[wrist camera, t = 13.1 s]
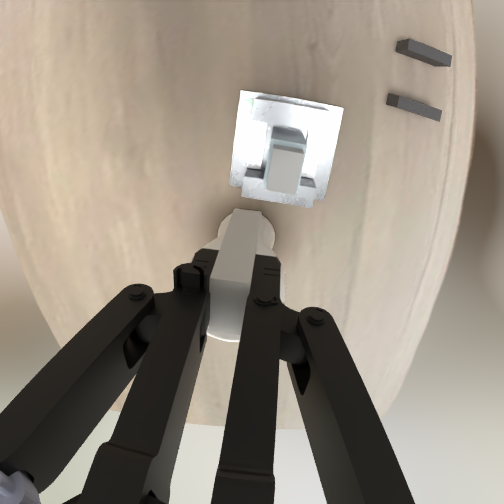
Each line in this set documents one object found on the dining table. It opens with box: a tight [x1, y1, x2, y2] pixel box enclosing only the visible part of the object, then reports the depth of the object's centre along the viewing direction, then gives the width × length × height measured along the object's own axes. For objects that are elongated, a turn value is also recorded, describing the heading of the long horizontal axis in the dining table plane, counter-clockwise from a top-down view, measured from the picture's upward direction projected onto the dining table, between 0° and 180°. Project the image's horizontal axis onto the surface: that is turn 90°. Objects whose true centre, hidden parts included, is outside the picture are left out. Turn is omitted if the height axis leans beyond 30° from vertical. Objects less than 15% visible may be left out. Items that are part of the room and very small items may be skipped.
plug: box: [262, 127, 308, 195], centre depth 33 cm, size 5×4×10 cm
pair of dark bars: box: [386, 39, 452, 122], centre depth 29 cm, size 8×6×4 cm, turn 173°
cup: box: [191, 213, 286, 342], centre depth 37 cm, size 11×11×15 cm
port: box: [229, 90, 343, 208], centre depth 35 cm, size 12×12×5 cm
